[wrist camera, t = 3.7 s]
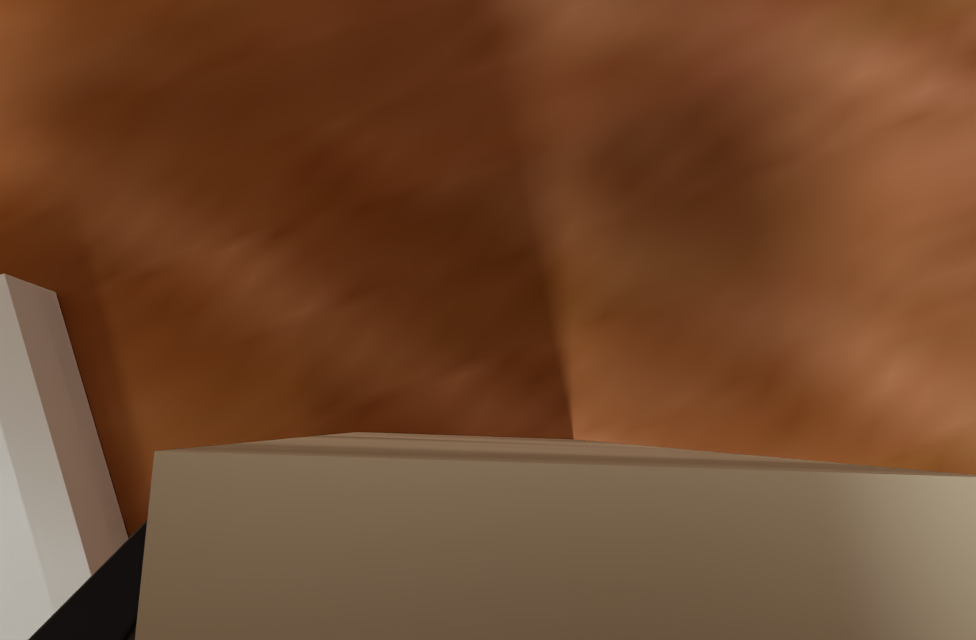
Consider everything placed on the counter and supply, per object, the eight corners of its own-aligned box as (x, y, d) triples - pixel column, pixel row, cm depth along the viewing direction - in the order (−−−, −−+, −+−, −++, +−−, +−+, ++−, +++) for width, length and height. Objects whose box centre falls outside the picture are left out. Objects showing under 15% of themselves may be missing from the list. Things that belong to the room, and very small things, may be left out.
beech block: (570, 666, 16) (1109, 1541, 3) (342, 665, 15) (16, 1653, 3) (574, 439, 17) (1026, 478, 4) (357, 432, 16) (144, 450, 4)
